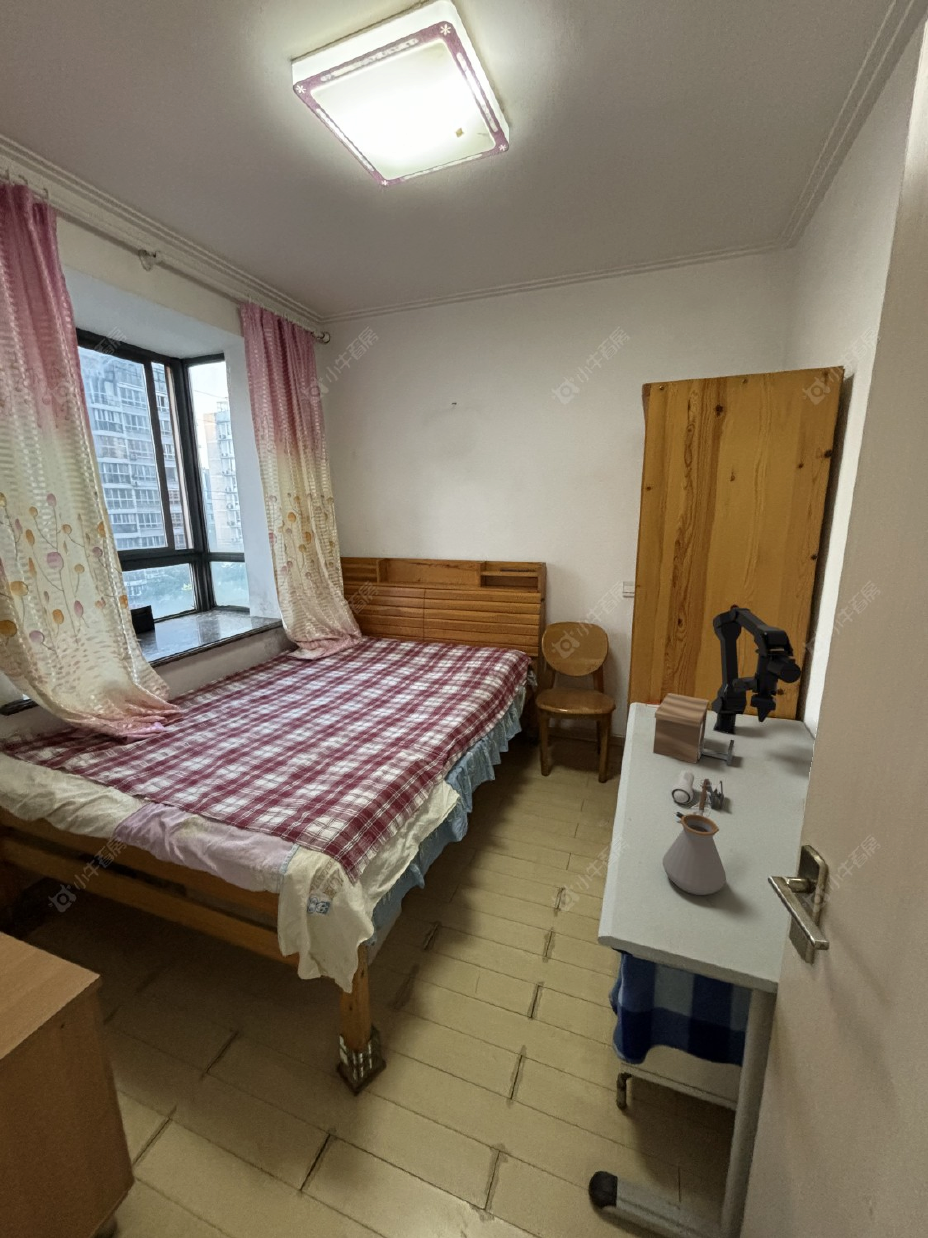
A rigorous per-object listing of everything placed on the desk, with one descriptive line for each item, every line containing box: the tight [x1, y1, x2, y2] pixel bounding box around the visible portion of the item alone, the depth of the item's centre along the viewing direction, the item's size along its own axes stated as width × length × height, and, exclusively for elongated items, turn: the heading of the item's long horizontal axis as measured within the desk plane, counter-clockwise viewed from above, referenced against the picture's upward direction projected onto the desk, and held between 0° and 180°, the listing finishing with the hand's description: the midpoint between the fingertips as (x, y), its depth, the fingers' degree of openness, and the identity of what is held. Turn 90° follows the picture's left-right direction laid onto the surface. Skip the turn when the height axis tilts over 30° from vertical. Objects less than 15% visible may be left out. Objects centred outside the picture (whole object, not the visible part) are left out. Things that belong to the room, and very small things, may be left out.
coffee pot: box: [662, 778, 727, 896], centre depth 102 cm, size 21×12×15 cm, turn 150°
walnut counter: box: [652, 692, 710, 764], centre depth 154 cm, size 20×12×14 cm, turn 147°
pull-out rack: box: [697, 737, 735, 766], centre depth 152 cm, size 11×17×4 cm, turn 57°
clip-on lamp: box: [670, 769, 725, 819], centre depth 124 cm, size 12×6×18 cm
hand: (760, 721), depth 149 cm, fingers closed
